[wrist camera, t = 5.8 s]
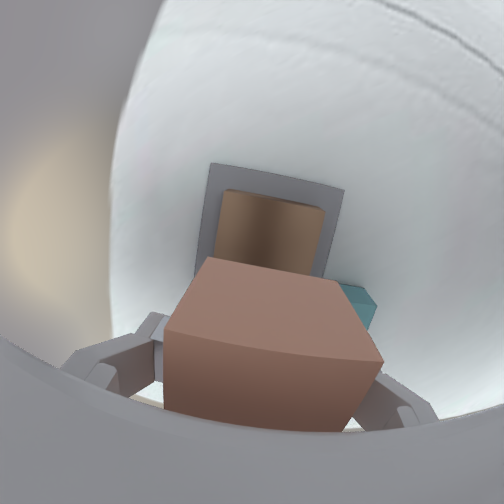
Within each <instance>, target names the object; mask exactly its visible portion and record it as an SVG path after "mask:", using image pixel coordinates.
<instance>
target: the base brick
mask: <svg viewBox="0 0 504 504" xmlns="http://www.w3.org/2000/svg"><path fill="white" fill-rule="evenodd" d="M325 213H326V212H325V211H324V210H322V209H321V208H320V207H318V206H313V205H309V204H304V203H300V202H295V201H291V200H286V199H281V198H276V197H271V196H266V195H261V194H256V193H251V192H246V191H240V190H235V189H227V190H225V191H224V194H223V200H222V206H221V212H220V218H219V224H218V230H217V237H216V243H215V250H214V256H213V258H218V259H223V260H228V261H233V262H238V263H243V264H249V265H254V266H259V267H264V268H270V269H275V270H280V271H285V272H291V273H296V274H302V275H307V276H309V275H310V272H311V268H312V264H313V260H314V257H315V253H316V249H317V245H318V241H319V237H320V233H321V229H322V225H323V221H324V217H325Z"/></svg>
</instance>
